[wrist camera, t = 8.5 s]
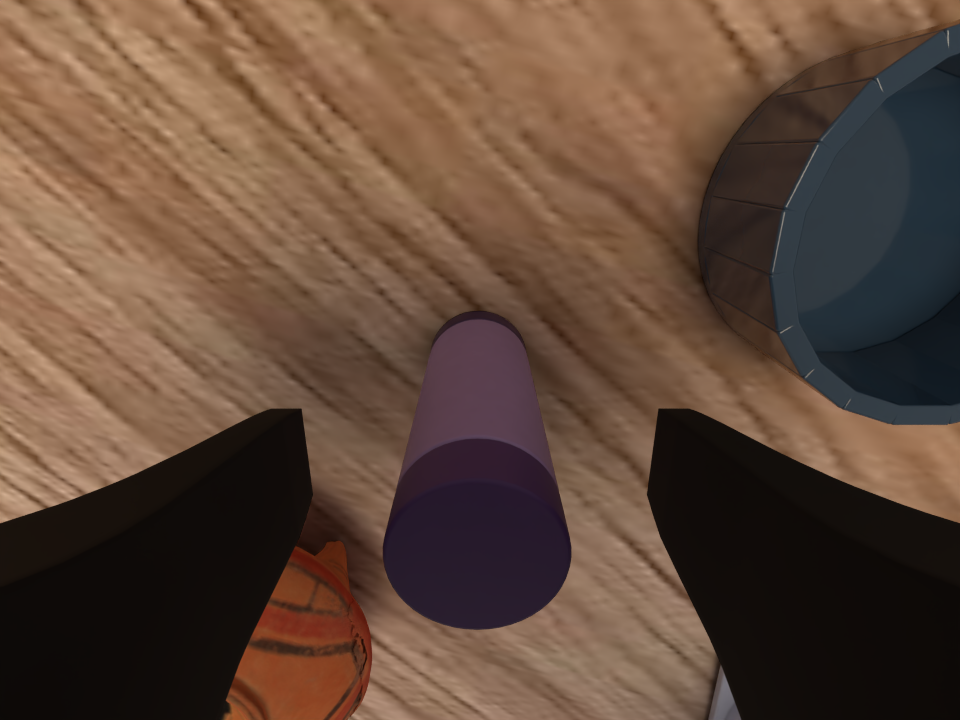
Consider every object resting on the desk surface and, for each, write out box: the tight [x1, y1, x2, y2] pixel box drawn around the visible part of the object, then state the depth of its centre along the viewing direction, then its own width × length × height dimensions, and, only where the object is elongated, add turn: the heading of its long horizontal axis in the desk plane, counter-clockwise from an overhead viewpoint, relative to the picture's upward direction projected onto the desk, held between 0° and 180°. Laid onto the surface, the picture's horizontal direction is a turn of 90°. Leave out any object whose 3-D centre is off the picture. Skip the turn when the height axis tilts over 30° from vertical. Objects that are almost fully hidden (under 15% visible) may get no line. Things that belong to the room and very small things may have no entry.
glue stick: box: [383, 311, 571, 630], centre depth 12 cm, size 3×3×8 cm
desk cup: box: [698, 19, 960, 425], centre depth 13 cm, size 8×8×4 cm
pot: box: [219, 541, 372, 720], centre depth 16 cm, size 8×8×7 cm
